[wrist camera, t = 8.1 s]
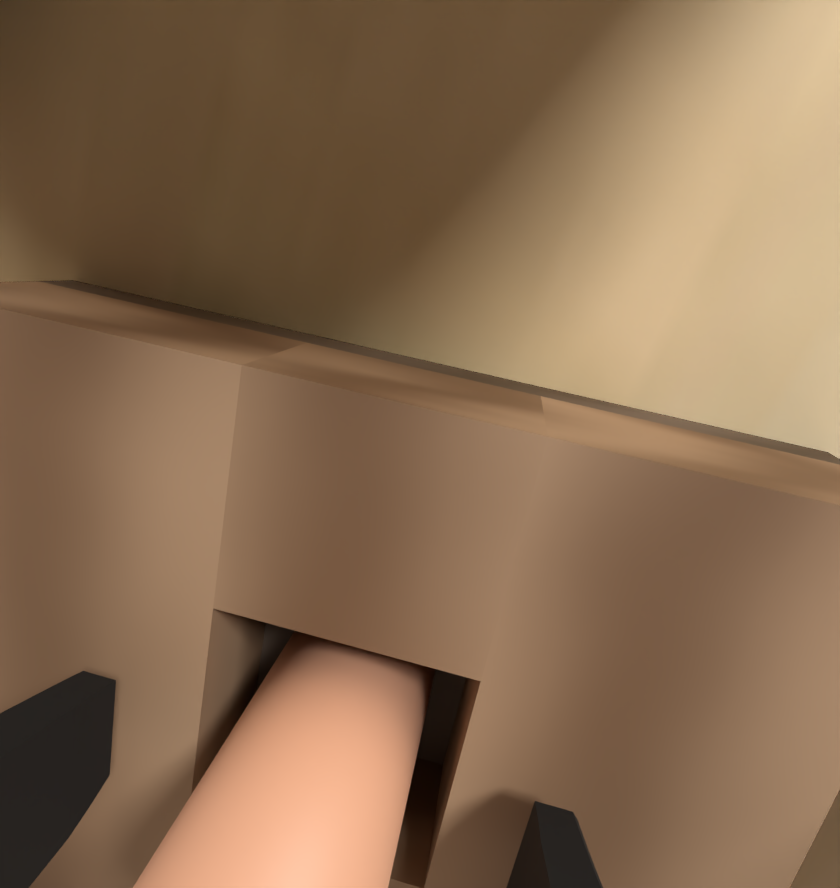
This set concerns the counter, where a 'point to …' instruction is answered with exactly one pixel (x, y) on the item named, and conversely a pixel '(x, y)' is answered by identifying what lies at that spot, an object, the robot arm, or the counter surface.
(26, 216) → the counter surface
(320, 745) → the peg
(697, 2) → the counter surface
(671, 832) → the socket board
